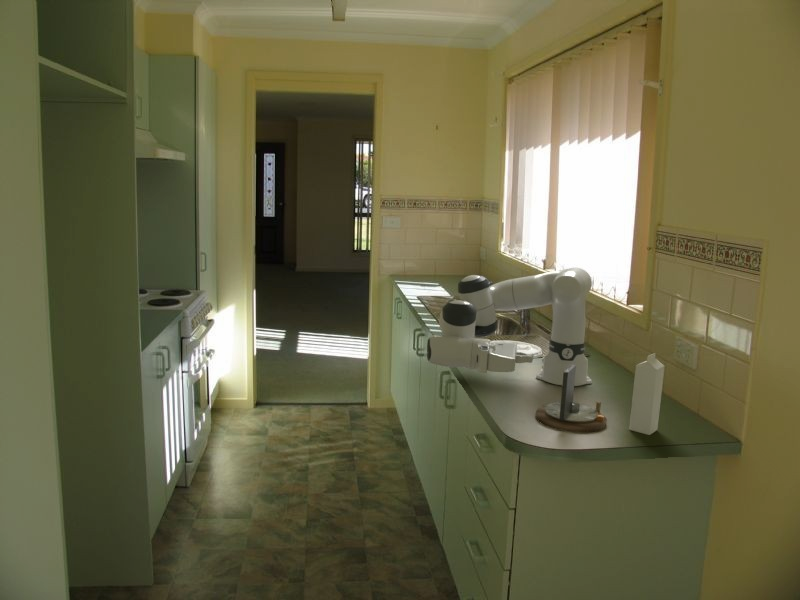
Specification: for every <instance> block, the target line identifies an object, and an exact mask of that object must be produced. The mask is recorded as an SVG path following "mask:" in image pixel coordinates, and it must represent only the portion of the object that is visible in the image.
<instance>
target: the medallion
mask: <svg viewBox="0 0 800 600" xmlns="http://www.w3.org/2000/svg"><path fill="white" fill-rule="evenodd" d="M496 342H498V343H514V344H517V351H516V352H523V353H526V354H532V355H533V360H534V359H538V358H541V356H542V355H543V354H542V353H543V349H542V348H541V347H540V346H538V345H535V344H533V343H528V342H526V341H525V342H523V341H516V340H500V339H499V340H490V344H492V343H496Z"/></svg>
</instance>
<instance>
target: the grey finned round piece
mask: <svg viewBox="0 0 800 600" xmlns="http://www.w3.org/2000/svg"><path fill="white" fill-rule="evenodd" d="M575 373H576V365H571V366H570V367H569V368H567V369H566V370H565V371H564V374H563V385H561V386H562V387H561V397H560V402H559V401H557V402H550V403H548V404H546V406H545V405H544V406H545V413H546V414H547V415H548V416H549V417H551V418H554V419H557V420H559V421H564V422H570V423H590V422H594V421H596V420H598V421H603V420H604V416H605V415H604V414H603V415H604V416H603V415H598V412H597V411H596V408H593V407H591V406H588V405H585V404H581V403H579V402H577V401H574V392H575V386H574V384H575Z"/></svg>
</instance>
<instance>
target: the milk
mask: <svg viewBox="0 0 800 600" xmlns="http://www.w3.org/2000/svg"><path fill="white" fill-rule="evenodd" d="M665 367H666V366H665V364H663V363H661V362H660V361H659V360H658V359H657V358H656V353H655V352H654V353H652V354H649V355H648V356H647V357H646V360H645V361H642V362H640V363H638V364H636V365H635V373H634V379H633V381H634V382H633V388H632V389H633V390H632V398H631V399H632V400H631V409H630V417H629V425H628V426H629V427H628V429H629V430H630V431H633V432H637V433H640V434H644V435H648V436H651V435H652V434H653V433H655V432H656V431H658V427H659V417H660V410H661V409H660V408H661V400H662V395H663V394H662V392H663V385H664V384H663V382H664V376H665V375H664V374H665V369H666V368H665Z"/></svg>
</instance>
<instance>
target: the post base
mask: <svg viewBox="0 0 800 600" xmlns="http://www.w3.org/2000/svg"><path fill="white" fill-rule="evenodd" d="M601 404H602V402H601V401H596V405H595V410H596V411H597V412H598V415H603V416H604V420H603V421H598V420H596V421H594V422H590V423H570V422H564V421H559V420H557V419H554V418H551V417H549V416H548V415H547V414H546V413H545V406H546V405H547V404H546V405H542V406H539V407H537V409H536V410H535V419H536V420H537V421H538V422H539V423H540V422H541V423H540V424H541V425H544V426H546V427H549V428H552V429H555V430H559V431H565V432H569V433H595V432H600V431H602V430H604V429H606V427H607V418H606V416H605V415H604V414H603V413H601Z"/></svg>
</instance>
